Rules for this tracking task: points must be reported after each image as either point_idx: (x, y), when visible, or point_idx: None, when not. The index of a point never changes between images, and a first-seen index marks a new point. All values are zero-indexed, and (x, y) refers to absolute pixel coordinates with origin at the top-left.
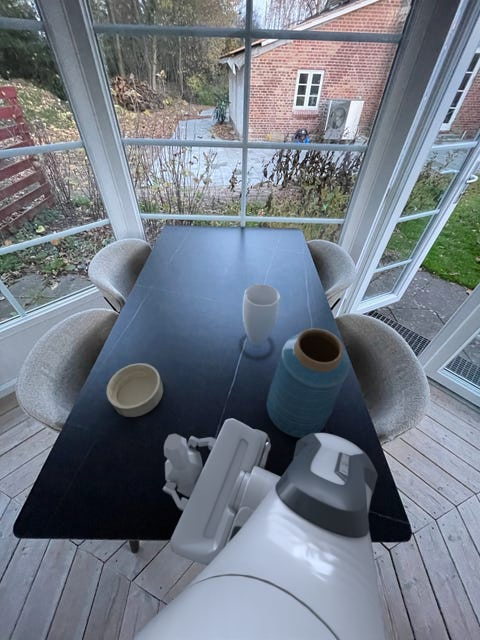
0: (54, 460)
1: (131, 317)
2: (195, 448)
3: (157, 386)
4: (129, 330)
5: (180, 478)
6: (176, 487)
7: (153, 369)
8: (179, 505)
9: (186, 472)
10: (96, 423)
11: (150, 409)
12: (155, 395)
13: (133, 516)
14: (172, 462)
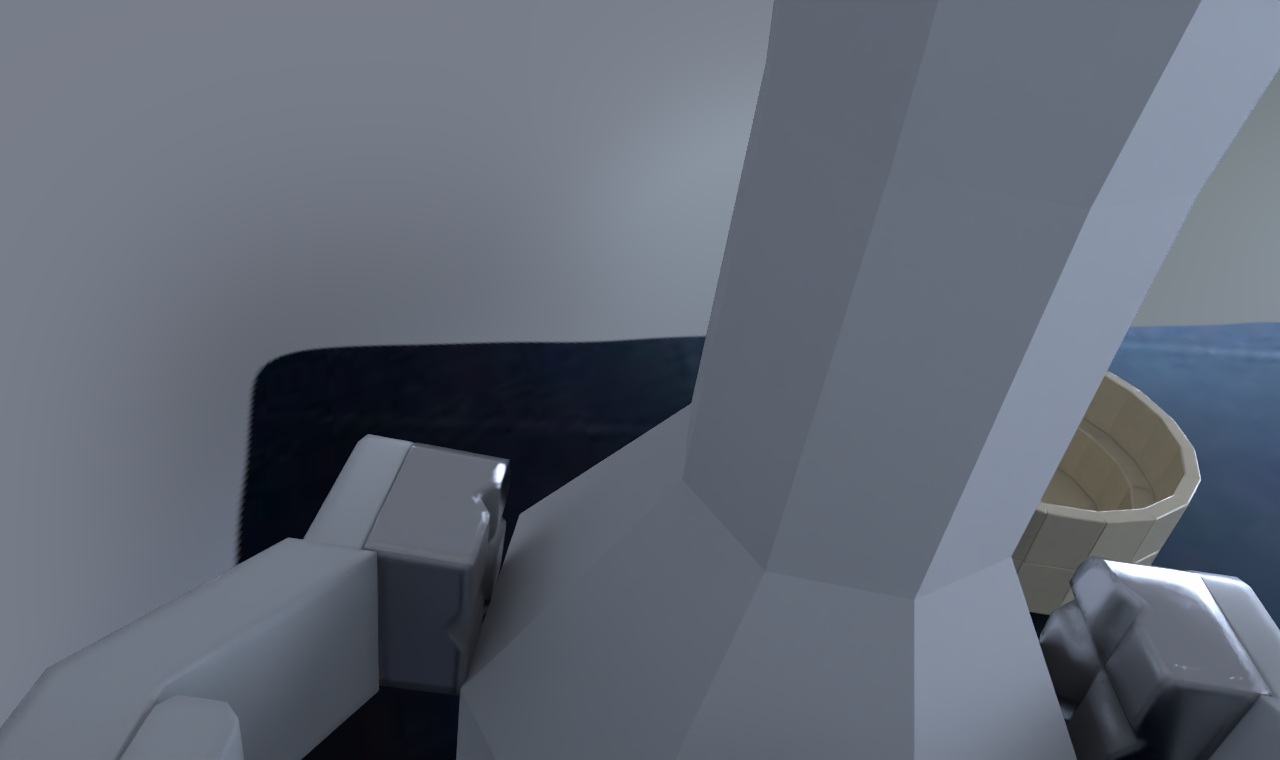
0: (529, 345)
1: (1266, 347)
2: (1131, 714)
3: (1124, 515)
4: (1208, 362)
5: (578, 613)
6: (431, 615)
7: (1187, 462)
8: (61, 692)
9: (706, 632)
10: None
11: None
12: (1063, 535)
13: (328, 752)
14: (763, 94)
